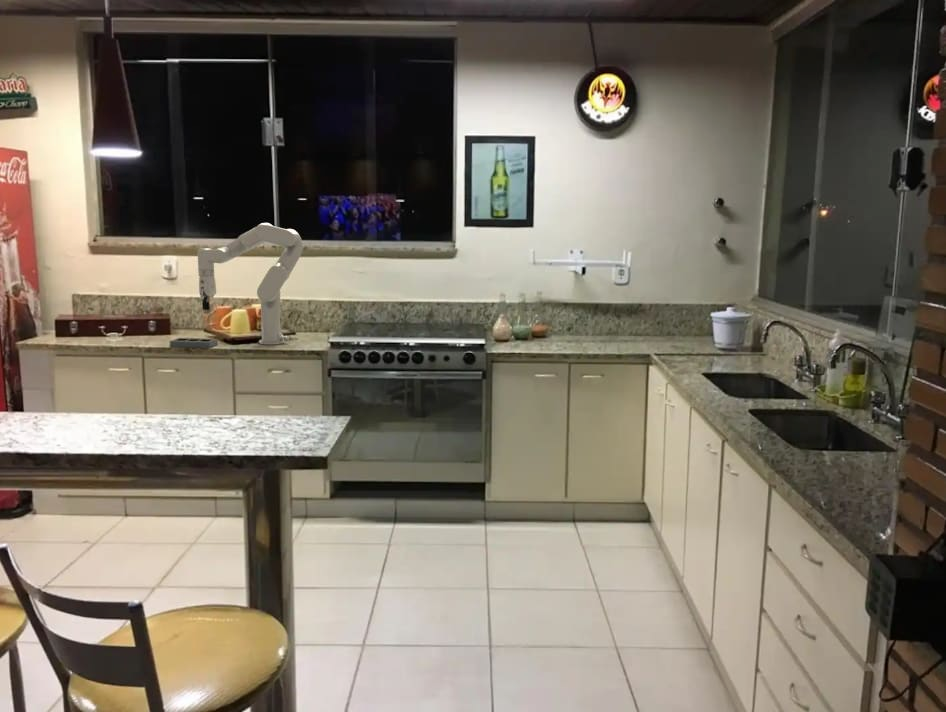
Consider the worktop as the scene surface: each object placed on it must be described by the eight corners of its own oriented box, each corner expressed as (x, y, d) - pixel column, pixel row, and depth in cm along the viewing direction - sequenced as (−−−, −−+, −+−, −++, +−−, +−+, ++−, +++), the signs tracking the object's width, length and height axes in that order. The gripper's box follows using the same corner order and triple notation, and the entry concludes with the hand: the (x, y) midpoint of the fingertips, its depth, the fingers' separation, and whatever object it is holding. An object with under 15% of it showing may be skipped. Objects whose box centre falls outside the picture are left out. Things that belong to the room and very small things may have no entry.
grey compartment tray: (217, 344, 388) (217, 338, 387) (209, 348, 378) (209, 342, 377) (179, 343, 389) (179, 337, 389) (170, 347, 379) (169, 341, 379)
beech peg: (213, 312, 392) (212, 293, 390) (210, 313, 388) (209, 294, 386) (206, 312, 393) (205, 293, 391) (202, 313, 389) (201, 293, 387)
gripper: (206, 274, 378) (208, 311, 382) (220, 271, 394) (222, 307, 398) (191, 274, 379) (193, 311, 382) (206, 271, 395) (208, 306, 399)
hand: (208, 308), depth 390 cm, fingers closed on beech peg, 4 cm apart
